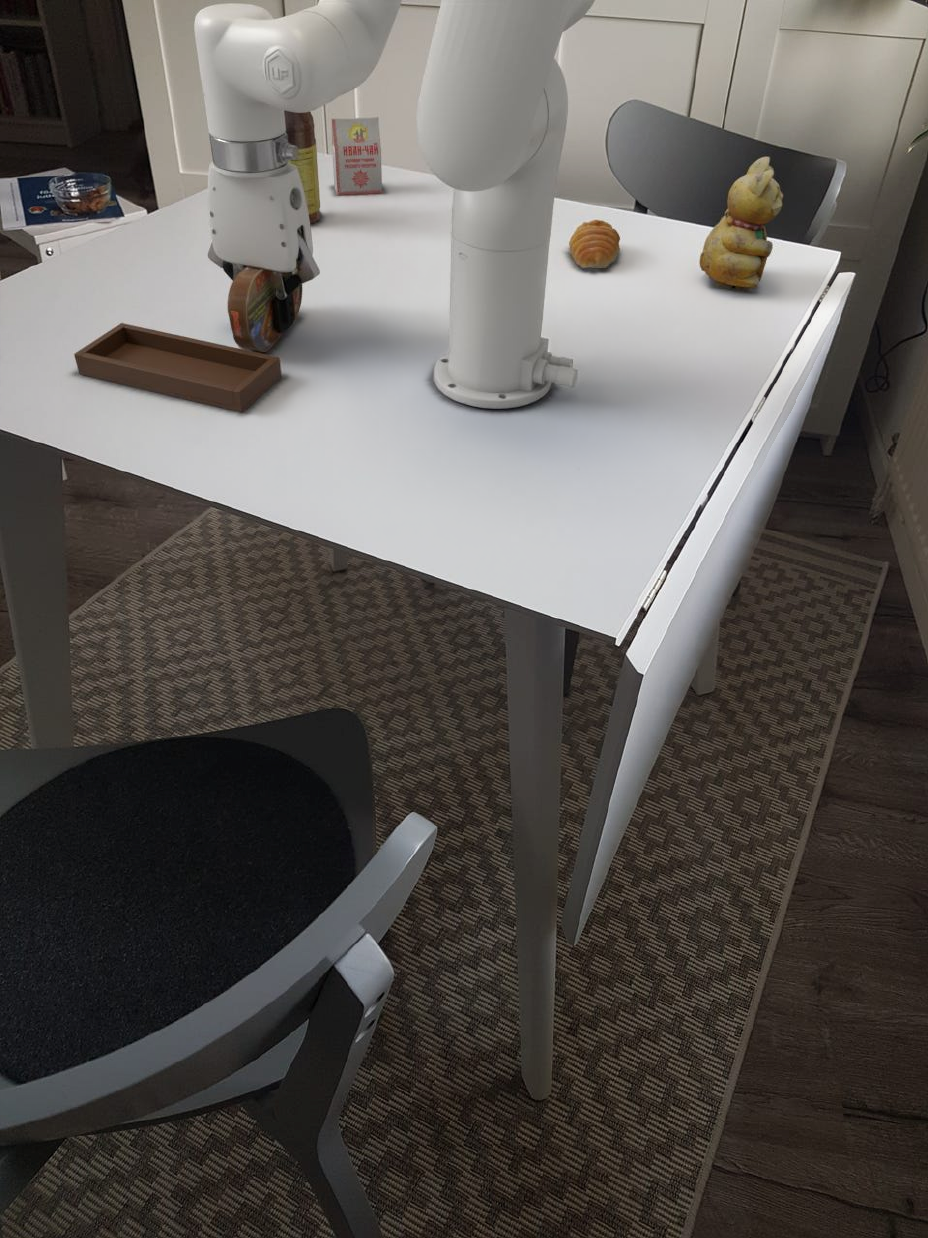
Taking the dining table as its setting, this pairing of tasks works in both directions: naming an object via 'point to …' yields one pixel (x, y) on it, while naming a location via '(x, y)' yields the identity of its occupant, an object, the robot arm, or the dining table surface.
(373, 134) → the tea box
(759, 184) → the decorative figurine
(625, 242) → the dining table surface
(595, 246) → the pastry
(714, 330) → the dining table surface
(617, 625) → the dining table surface
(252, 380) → the tray
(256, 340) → the tin
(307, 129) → the sauce bottle
